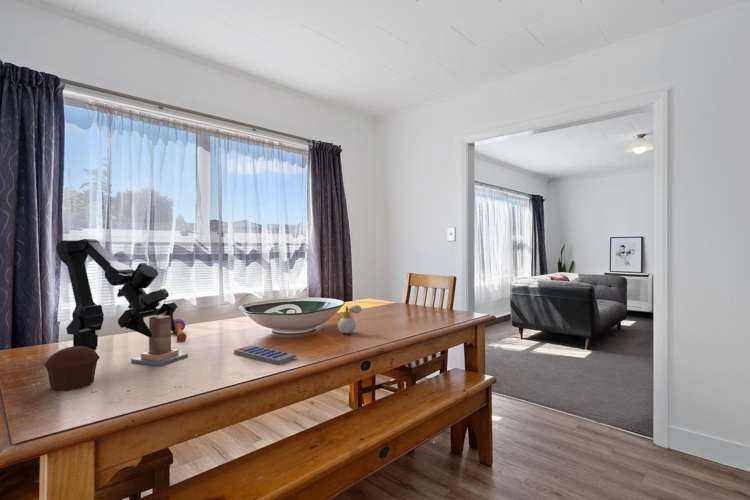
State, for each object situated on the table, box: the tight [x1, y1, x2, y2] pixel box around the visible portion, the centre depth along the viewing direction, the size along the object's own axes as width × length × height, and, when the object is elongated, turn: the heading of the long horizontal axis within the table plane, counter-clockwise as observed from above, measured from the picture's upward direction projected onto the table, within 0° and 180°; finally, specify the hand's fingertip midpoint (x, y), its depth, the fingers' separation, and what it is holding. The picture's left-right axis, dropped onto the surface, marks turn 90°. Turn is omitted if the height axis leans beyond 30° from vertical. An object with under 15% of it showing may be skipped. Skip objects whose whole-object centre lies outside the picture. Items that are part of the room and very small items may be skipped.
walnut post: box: [148, 315, 172, 355], centre depth 126 cm, size 4×4×13 cm
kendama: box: [171, 318, 188, 342], centre depth 158 cm, size 6×6×20 cm
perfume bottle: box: [337, 304, 362, 335], centre depth 167 cm, size 8×10×12 cm
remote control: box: [233, 345, 297, 365], centre depth 132 cm, size 8×23×2 cm, turn 59°
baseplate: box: [130, 348, 189, 367], centre depth 127 cm, size 12×11×2 cm
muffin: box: [43, 346, 101, 392], centre depth 103 cm, size 12×11×10 cm
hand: (163, 333), depth 126 cm, fingers open, 9 cm apart
